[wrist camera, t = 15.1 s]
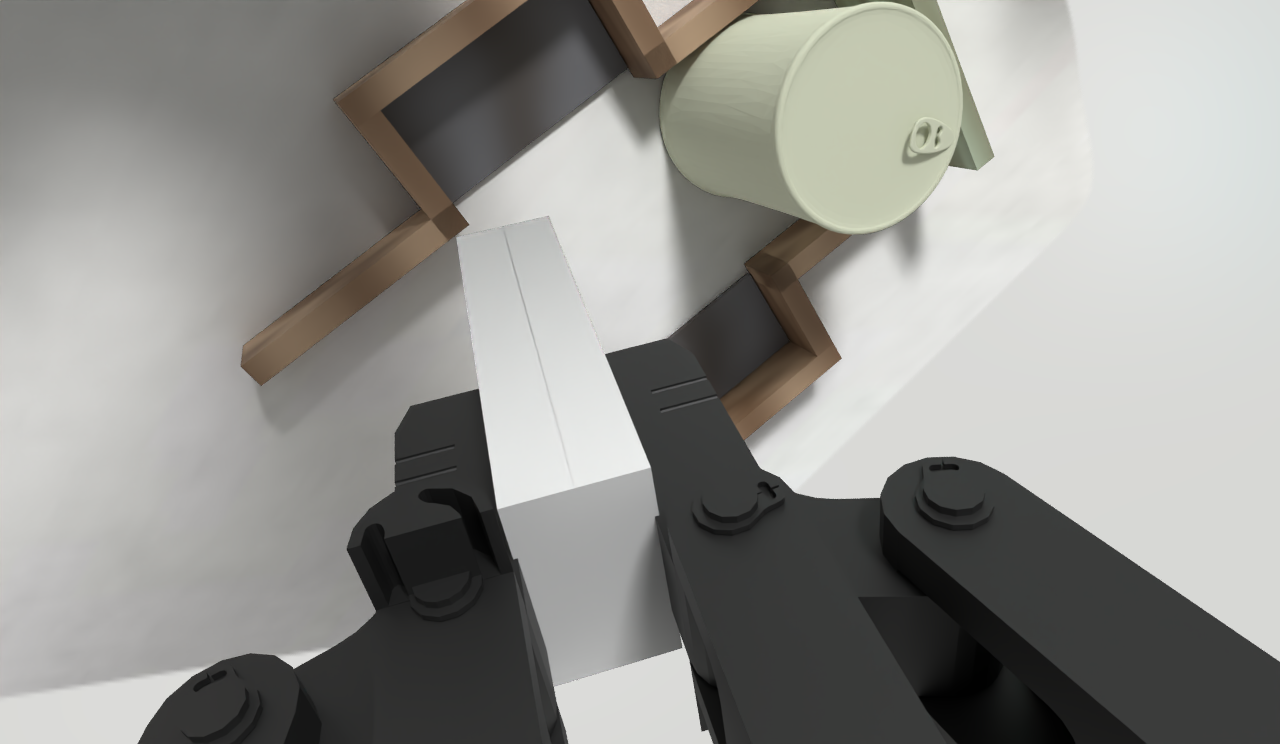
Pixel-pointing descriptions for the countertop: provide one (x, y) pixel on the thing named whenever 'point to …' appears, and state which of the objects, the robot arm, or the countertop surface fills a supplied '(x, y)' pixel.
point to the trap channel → (518, 114)
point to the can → (818, 113)
